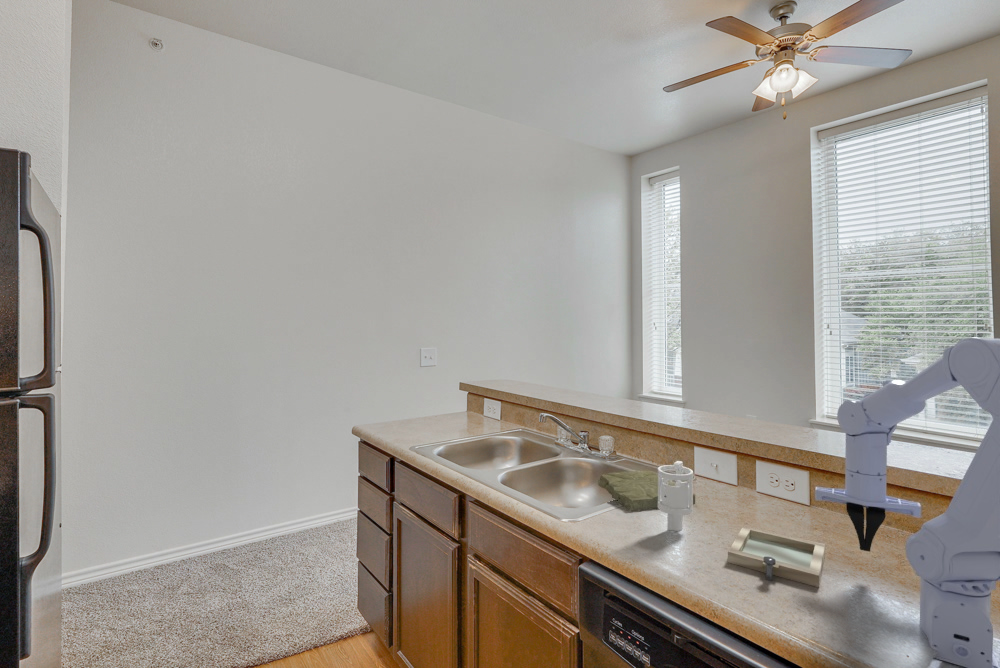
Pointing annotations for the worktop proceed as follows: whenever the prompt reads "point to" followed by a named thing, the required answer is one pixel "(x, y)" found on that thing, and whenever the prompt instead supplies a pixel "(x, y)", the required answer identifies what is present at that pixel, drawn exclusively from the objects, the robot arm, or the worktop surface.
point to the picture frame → (779, 554)
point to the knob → (769, 567)
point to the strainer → (675, 494)
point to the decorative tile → (634, 488)
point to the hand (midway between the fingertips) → (864, 548)
